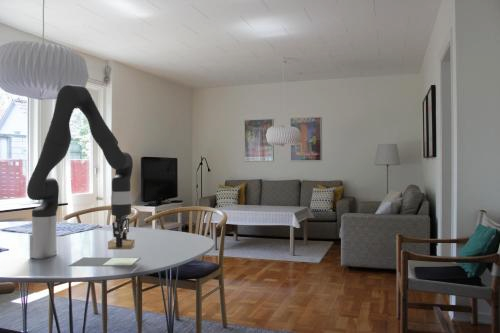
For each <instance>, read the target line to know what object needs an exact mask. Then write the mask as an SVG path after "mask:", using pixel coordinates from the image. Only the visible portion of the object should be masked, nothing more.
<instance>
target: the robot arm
mask: <svg viewBox="0 0 500 333" xmlns="http://www.w3.org/2000/svg"><path fill="white" fill-rule="evenodd" d="M75 109H78V110H79V111H80V112H82V114H83V115H84V116H85V118H86V120H87V122H88V125H89V132H90V133H91V136H92V138H93V139H94V142H96V144H97V145H98V147H99V148H100V150H101V151H102V153H103V155H104V158H105V160H106V161H107V164H108V165H109V166H110V167H111V168H112V169H113V170H115V172H114V177H112V179H111V195H110V196H111V197H110V200H111V201H110V202H111V203H110V205H111V206H110V208H111V209H110V214H111V215H112V216H114V217H115V220H114V221H113V222H112V225H111V226H112V234H113V238H114V239H116V247H117V248H121V247H122V239H128V237H127V235H128V233H129V232H130V217H128V216H130V215H131V214H132V194H131V193H132V192H131V178H132V175H133V174H132V172H133V166H134V165H133V164H134V162H133V157H132V156H131V154H130V153H128V152H124V151H122V150H121V148H120V147H119V141H118V139H117V137H115V135H114V133H113V132H112V131H111V129H110V128H109V126H108V125H107V124H106V122H105V121H104V118H103V116H102V115H101V112H100V111H99V108H98V107H97V105H96V103H95V100H94V99H93V97H92V95H91V93H90V92H89V89H87V87H85V86H84V85H80V84H65V85H62V86H61V87H60V89H59V90H58V93H57V95H56V101H55V105H54V111H53V114H52V118H51V121H50V125H49V127H48V130H47V134H46V136H45V139H44V142H43V145H42V149H41V152H40V154H39V158H38V160H37V163H36V166H35V168H34V170H33V172H32V174H31V176H30V178H29V180H28V183H27V186H26V193H27V194H26V195H27V196H28V198H29V199H30V200H32V201H42V203H41V204H40V205H38V206H36V207H35V208H33V209H32V211H31V234H30V235H29V258H30V259H35V260H42V259H49V258H51V257H54V256H57V253H58V252H57V251H58V250H57V246H58V245H57V212H58V209H59V196H60V195H59V194H60V190H59V189H60V186H59V183H58V180H57V179H56V178H54V177H48V176H49V174H50V173H51V172H52V170H54V168H55V167H56V166H57V165H58V164H59V163H61V162H62V161H63V159H65V157H66V156H67V154H68V151H69V149H70V146H71V142H72V133H71V128H70V122H71V118H72V115H73V112H74V110H75Z"/></svg>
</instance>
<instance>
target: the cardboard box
mask: <svg viewBox="0 0 500 333" xmlns="http://www.w3.org/2000/svg"><path fill="white" fill-rule="evenodd" d="M135 240H136V238H135V239H134V238H133V239H129V238H127V239H122V247H121V248H117V247H116V238H112V239H110V240H108V241H107V250H133V249H134V248H135V246H136V245H135V243H136V242H135Z"/></svg>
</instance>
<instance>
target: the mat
mask: <svg viewBox="0 0 500 333" xmlns="http://www.w3.org/2000/svg"><path fill="white" fill-rule="evenodd" d="M141 259H142V257H90V256H89V257H82V258H80V259H78V260H76V261H74V262H73V263H71V264H69V265H68V267H122V268H123V267H124V268H125V267H131V268H132V267H133V266H134V265H135V264H136V263H138V262H139V261H140V260H141Z"/></svg>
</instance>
